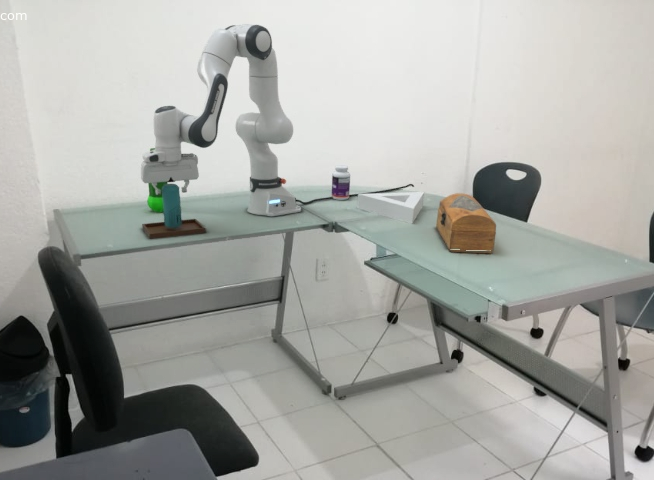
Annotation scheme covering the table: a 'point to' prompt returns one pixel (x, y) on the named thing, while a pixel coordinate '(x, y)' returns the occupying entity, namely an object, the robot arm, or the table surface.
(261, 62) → the robot arm
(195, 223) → the tray
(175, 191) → the beverage bottle
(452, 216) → the wooden box
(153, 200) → the plastic bottle
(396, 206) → the triangle block
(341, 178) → the pill bottle
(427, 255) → the table surface
